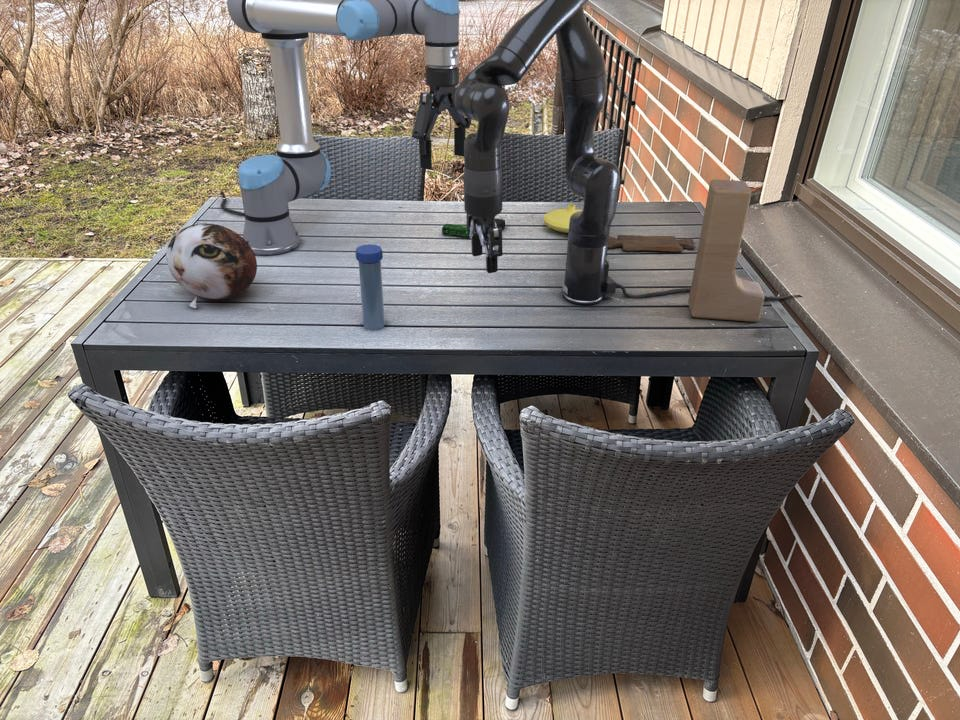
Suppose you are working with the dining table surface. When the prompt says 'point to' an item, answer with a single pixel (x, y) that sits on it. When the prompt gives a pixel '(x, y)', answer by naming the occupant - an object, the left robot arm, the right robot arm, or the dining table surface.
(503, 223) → the handgun
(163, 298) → the dining table surface
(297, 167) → the left robot arm
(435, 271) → the dining table surface
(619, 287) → the right robot arm
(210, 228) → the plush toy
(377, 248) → the lid
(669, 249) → the wooden paddle board
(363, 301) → the blue-grey bottle
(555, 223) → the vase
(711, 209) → the decorative block
